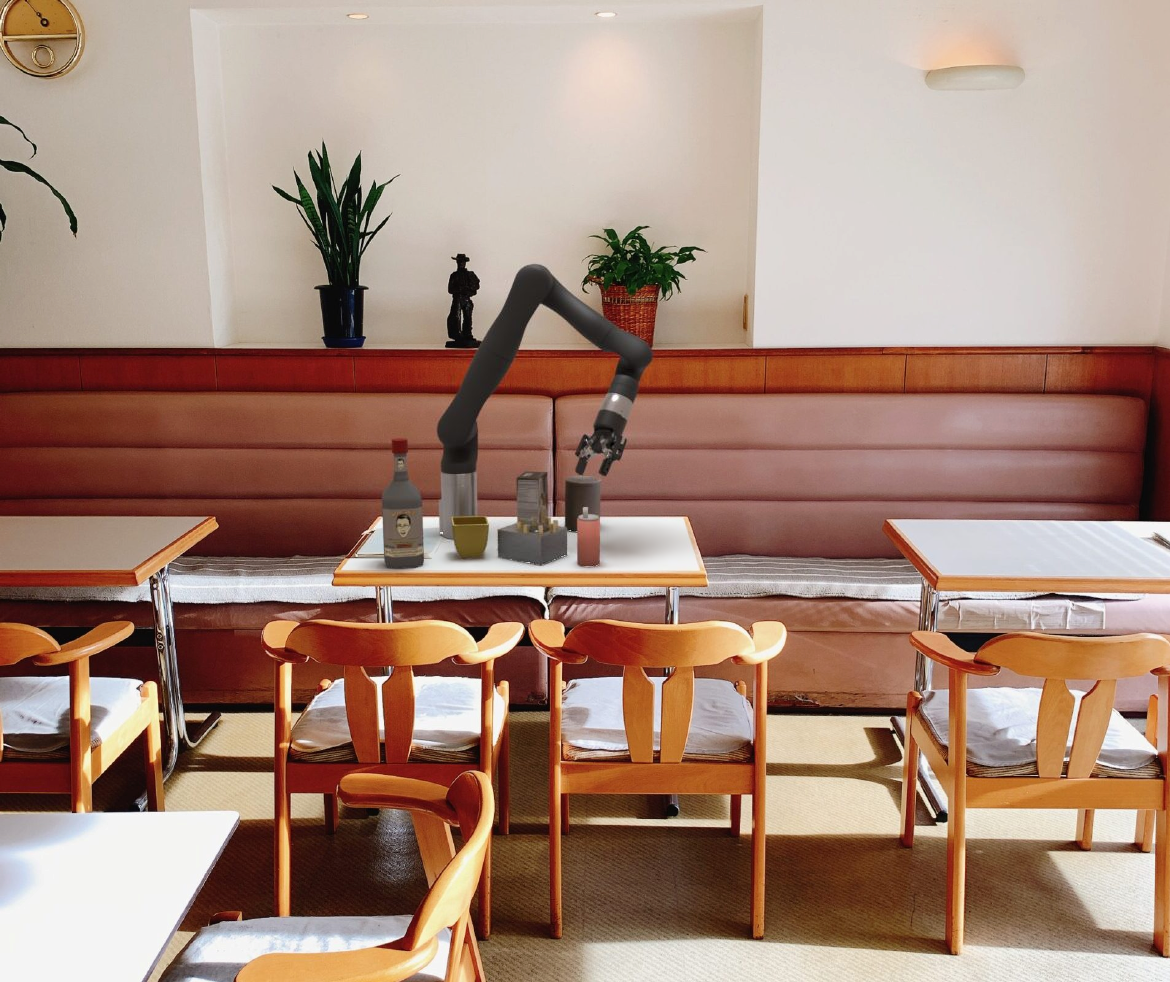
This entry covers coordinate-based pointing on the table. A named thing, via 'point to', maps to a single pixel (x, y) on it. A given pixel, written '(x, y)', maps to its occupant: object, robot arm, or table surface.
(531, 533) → the grey block
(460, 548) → the flower pot
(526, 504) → the coffee box
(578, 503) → the pillar candle
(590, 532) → the spout can
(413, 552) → the liquor
